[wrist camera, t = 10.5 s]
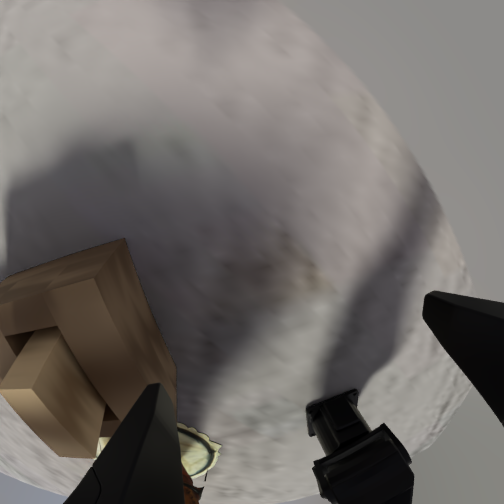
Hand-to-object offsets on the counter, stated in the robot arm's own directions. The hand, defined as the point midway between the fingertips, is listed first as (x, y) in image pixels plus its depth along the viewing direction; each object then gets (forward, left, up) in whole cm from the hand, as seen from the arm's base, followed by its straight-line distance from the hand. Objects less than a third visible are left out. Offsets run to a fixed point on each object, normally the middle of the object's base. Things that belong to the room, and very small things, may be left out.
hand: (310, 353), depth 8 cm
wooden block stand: (-4, +25, -13) cm, 28 cm away
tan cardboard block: (-4, +14, -10) cm, 17 cm away
